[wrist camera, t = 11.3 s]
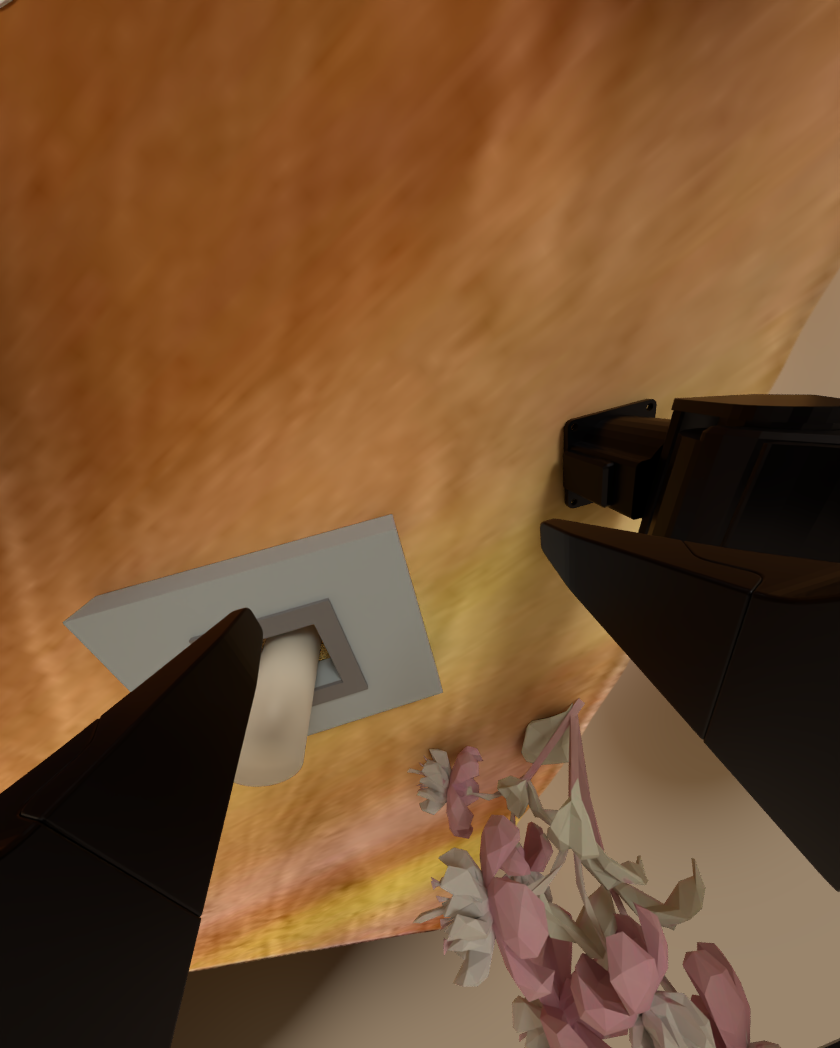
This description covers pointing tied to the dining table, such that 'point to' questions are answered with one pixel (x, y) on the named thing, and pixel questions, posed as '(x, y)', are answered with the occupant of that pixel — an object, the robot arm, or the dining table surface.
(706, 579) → the robot arm
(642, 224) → the dining table surface
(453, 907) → the flower
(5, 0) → the potted flower
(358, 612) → the socket plate
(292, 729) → the peg
